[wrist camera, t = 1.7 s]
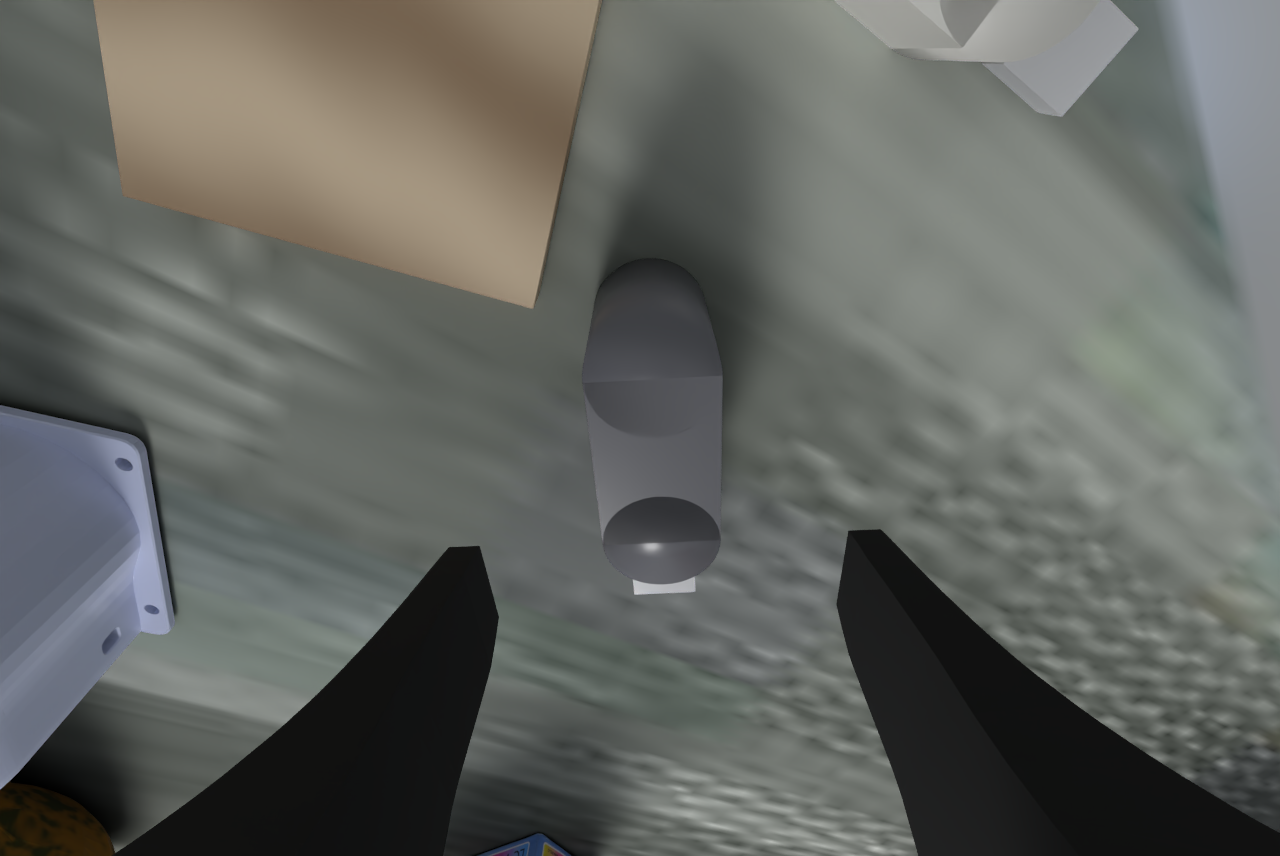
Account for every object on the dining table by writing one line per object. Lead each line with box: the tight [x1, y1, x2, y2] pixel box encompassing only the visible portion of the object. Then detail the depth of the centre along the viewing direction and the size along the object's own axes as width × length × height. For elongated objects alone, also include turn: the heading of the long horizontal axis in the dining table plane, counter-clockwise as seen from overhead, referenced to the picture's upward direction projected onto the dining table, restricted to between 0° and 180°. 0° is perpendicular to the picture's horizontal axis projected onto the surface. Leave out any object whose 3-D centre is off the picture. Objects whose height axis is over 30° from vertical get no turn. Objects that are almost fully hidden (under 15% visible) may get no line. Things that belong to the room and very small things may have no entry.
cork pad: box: [94, 0, 602, 309], centre depth 13 cm, size 10×10×1 cm
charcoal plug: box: [582, 259, 723, 594], centre depth 17 cm, size 10×3×4 cm, turn 3°
